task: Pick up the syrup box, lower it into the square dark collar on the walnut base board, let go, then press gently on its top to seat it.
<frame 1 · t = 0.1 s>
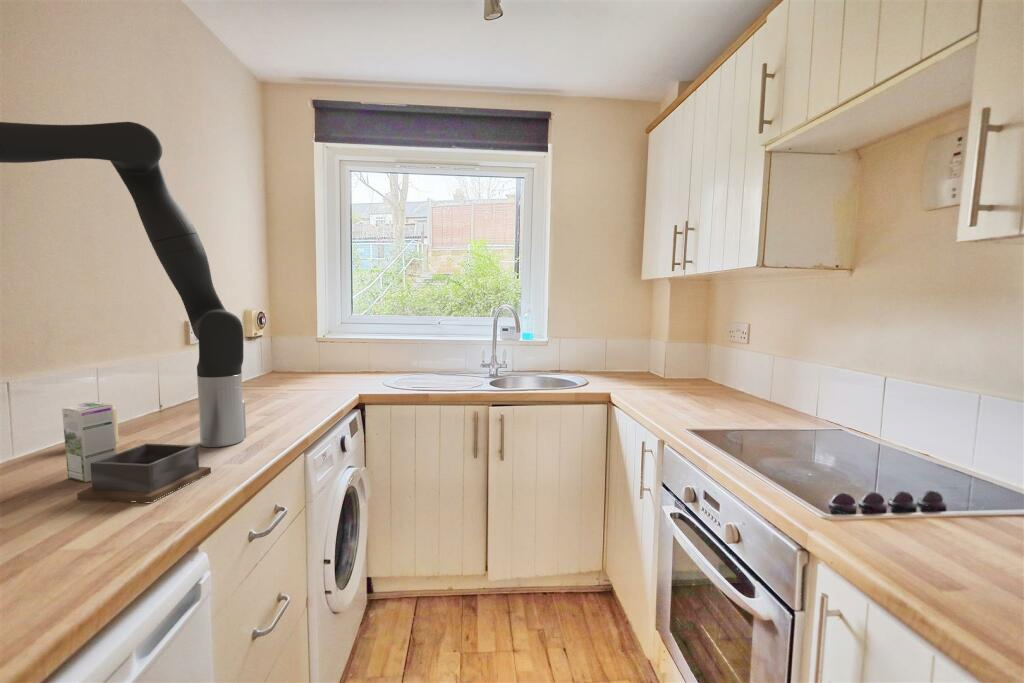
candle: (103, 444, 108), on the worktop
holder: (149, 485, 85), on the worktop
syrup box: (93, 476, 89), on the worktop
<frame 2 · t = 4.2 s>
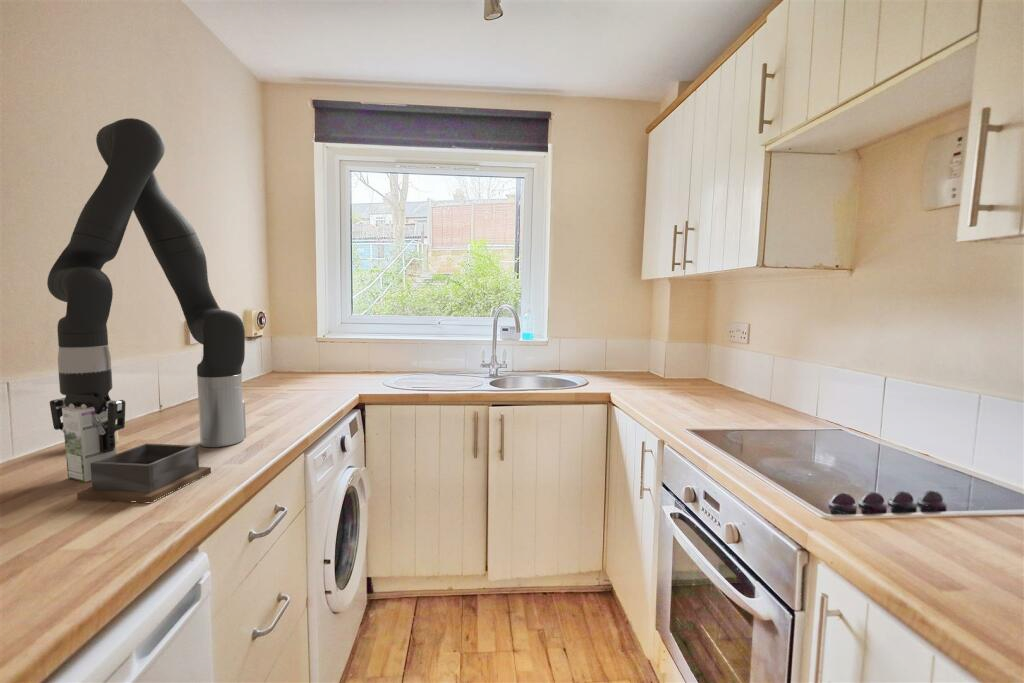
hand: (91, 450, 88), 5 cm above the worktop, tool pointing down, fingers closed on syrup box, 6 cm apart
syrup box: (93, 476, 89), on the worktop, touching gripper
everything else where it was.
when the fingers open (8 cm above the worktop, at t = 10.3 s): syrup box drops 1 cm, resting on holder.
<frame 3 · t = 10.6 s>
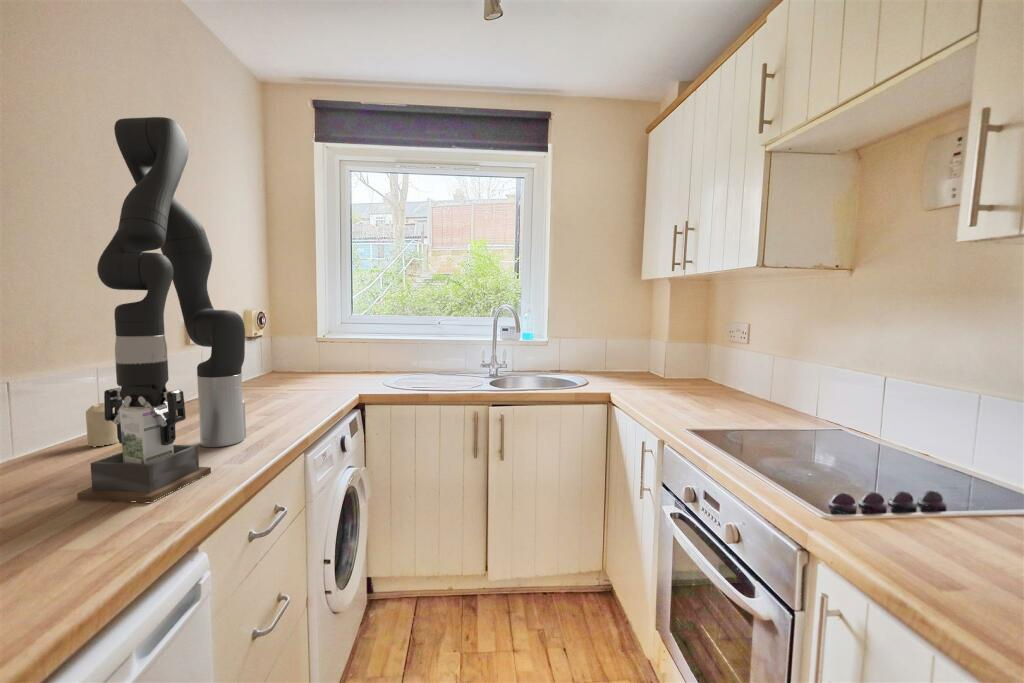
hand: (146, 443, 84), 8 cm above the worktop, tool pointing down, fingers open, 8 cm apart
syrup box: (150, 480, 85), point 1 cm above the worktop, touching holder
everything else where it was.
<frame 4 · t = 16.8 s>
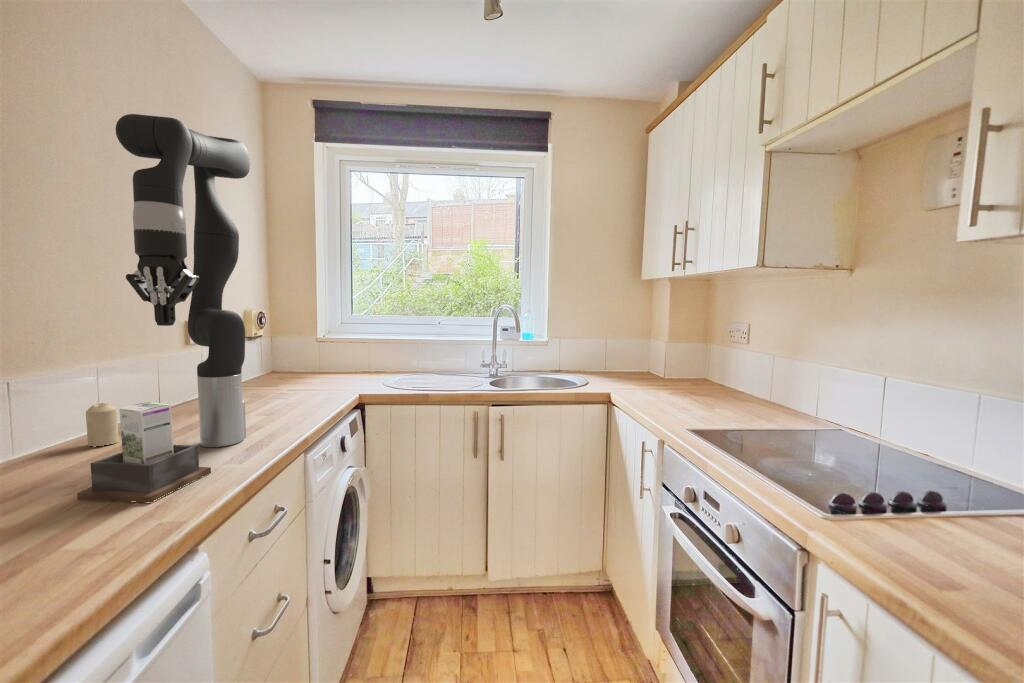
hand: (165, 325, 82), 31 cm above the worktop, tool pointing down, fingers closed
nothing on the worktop moved.
at the end: syrup box 0.2 cm from the holder (horizontally); syrup box point 1.0 cm above the worktop; syrup box tilted 0° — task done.
